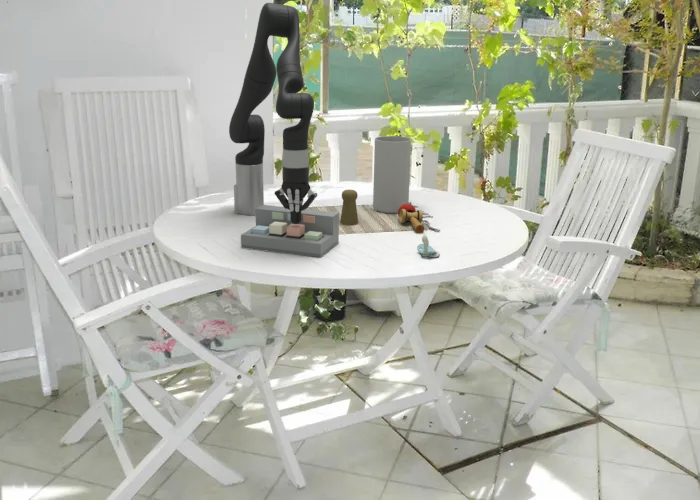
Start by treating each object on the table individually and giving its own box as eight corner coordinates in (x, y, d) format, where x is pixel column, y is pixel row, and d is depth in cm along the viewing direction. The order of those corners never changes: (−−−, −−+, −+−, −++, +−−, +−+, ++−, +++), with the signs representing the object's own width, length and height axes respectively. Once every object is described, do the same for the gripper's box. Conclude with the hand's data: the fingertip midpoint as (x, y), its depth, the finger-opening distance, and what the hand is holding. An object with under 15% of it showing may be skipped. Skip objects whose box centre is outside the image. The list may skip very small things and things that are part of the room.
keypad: (241, 247, 222) (240, 216, 219) (263, 234, 235) (262, 204, 232) (320, 257, 214) (320, 225, 211) (338, 243, 228) (338, 212, 225)
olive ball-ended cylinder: (356, 225, 246) (356, 192, 243) (338, 224, 248) (338, 191, 244) (359, 220, 252) (360, 188, 249) (342, 219, 253) (342, 187, 250)
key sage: (304, 247, 218) (304, 234, 217) (309, 243, 222) (309, 231, 221) (317, 248, 217) (317, 236, 216) (322, 244, 221) (322, 232, 219)
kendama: (433, 236, 241) (416, 214, 257) (431, 218, 238) (414, 197, 254) (409, 241, 240) (394, 219, 256) (408, 223, 237) (392, 202, 253)
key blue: (252, 241, 223) (252, 228, 222) (258, 237, 227) (258, 225, 226) (264, 242, 222) (264, 230, 221) (270, 238, 226) (270, 226, 224)
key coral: (286, 239, 219) (286, 226, 218) (292, 235, 223) (292, 223, 222) (299, 241, 218) (299, 228, 217) (304, 237, 222) (304, 224, 221)
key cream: (269, 237, 221) (269, 225, 220) (275, 233, 225) (274, 221, 224) (282, 238, 220) (281, 226, 219) (287, 235, 223) (287, 222, 222)
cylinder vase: (367, 206, 270) (368, 137, 263) (398, 203, 275) (400, 135, 268) (382, 215, 259) (384, 142, 252) (414, 212, 264) (417, 140, 257)
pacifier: (434, 251, 222) (415, 251, 221) (436, 230, 221) (416, 231, 219) (442, 259, 216) (422, 259, 214) (444, 238, 214) (424, 238, 212)
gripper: (268, 165, 213) (269, 224, 218) (312, 168, 209) (312, 229, 214) (279, 160, 219) (280, 218, 225) (322, 163, 215) (322, 222, 221)
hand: (296, 223), depth 219 cm, fingers closed
